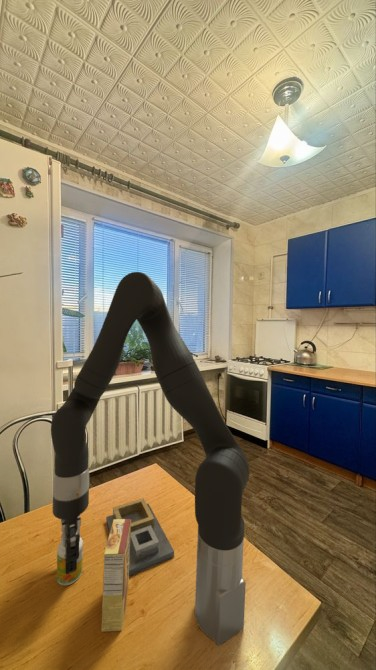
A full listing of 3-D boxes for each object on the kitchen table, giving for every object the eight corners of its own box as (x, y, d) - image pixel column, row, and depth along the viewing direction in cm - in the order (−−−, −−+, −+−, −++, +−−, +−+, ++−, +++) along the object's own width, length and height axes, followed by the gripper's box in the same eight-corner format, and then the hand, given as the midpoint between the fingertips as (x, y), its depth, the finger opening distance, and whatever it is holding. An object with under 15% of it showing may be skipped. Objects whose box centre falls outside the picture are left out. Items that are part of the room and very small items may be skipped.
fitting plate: (174, 557, 64) (174, 541, 64) (122, 579, 58) (122, 562, 58) (148, 508, 81) (148, 495, 81) (106, 521, 75) (106, 508, 75)
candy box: (110, 585, 57) (112, 518, 56) (129, 584, 57) (131, 517, 56) (100, 633, 48) (102, 554, 47) (123, 631, 48) (125, 553, 48)
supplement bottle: (50, 581, 57) (51, 539, 57) (68, 561, 62) (69, 522, 62) (70, 589, 55) (71, 546, 55) (87, 567, 61) (88, 527, 60)
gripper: (93, 503, 54) (91, 580, 54) (85, 468, 66) (83, 531, 67) (53, 514, 50) (51, 597, 51) (52, 475, 63) (51, 542, 63)
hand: (70, 559), depth 59 cm, fingers closed on supplement bottle, 5 cm apart
